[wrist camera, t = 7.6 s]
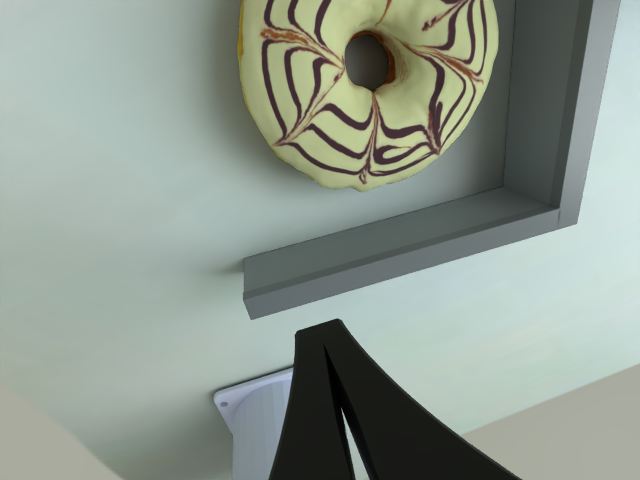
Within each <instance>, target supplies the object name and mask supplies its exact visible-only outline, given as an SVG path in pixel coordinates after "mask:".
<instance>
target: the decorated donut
mask: <svg viewBox="0 0 640 480" xmlns="http://www.w3.org/2000/svg"><path fill="white" fill-rule="evenodd" d="M365 34H370V35H373V36H374V37H375V38H376V39H378V41H379V43H381V44H382V45H383V47H384V49H385V50H386V52H387V53H388V56H389V60H388V61H389V62H390V63H389V64H388V65H389V67H390V68H389V72H388V75H387V77H386V81H385V82H384V83H383V84H382V86H381V87H378V88H376V89H374V90H373V92H371V91H370V90H368V89H366V88H364V87H361V86H357V85H354V84H353V83H352V82H351V81H350V79H349V77H348V75H347V72H346V67H345V55H344V54H345V49H346V46H347V44H348V42H349V41H353V39H354V37H355V38H356V37H357V36H361V35H365ZM498 35H499V31H498V24H497V16H496V10H495V8H494V4H493V0H242V4H241V7H240V17H239V35H238V45H237V52H238V60H239V72H240V81H241V85H242V92H243V96H244V100H245V104H246V107H247V109H248V111H249V113H250V115H251V116H252V118H253V119H254V121H255V122H256V124H257V126H258V128H259V130H260V132H261V133H262V135H263V136H264V138H265V140H266V142H267V143H268V144H269V146H270V147H271V149H272V150H273V151H274V152H275V154H276V155H277V156H278V157H279V158H280V159H282V160H283V161H284V162H287V163H289V164H291V165H292V166H293V167H294V168H295V169H297V170H298V171H301V172H303V173H305V174H306V175H307V176H308V177H309V178H310V179H312V180H315V181H316V182H317V183H318V184H319V185H320V186H322V187H326V188H330V189H341V188H345V187H352V188H354V189H356V190H358V191H360V192H364V191H367V190H370V189H373V188H376V187H379V186H381V185H383V184H392V183H394V182H398V181H400V180H403V179H405V178H408V177H410V176H413V175H415V174H417V173H418V172H420V171H421V170H423V169H424V168H425V167H426V166H428V165H429V164H430V163H432V162H433V161H434V160H435V159H437V158H438V157H439V156H441V155H442V154H443V153H444V151H445V150H446V149H447V148H448V147H449V146H450V145H451V144H452V143H453V142H454V141H455V140H456V139H457V138H458V137H459V136H460V134H461V133H462V131H463V130H464V129H465V127H466V126H467V124H468V123H469V121H470V119H471V117H472V115H473V113H474V112H475V110H476V108H477V106H478V104H479V103H480V101H481V99H482V97H483V94H484V92H485V90H486V88H487V85H488V82H489V79H490V76H491V73H492V67H493V63H494V60H495V57H496V54H497V51H498Z"/></svg>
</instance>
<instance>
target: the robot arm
mask: <svg viewBox="0 0 640 480" xmlns="http://www.w3.org/2000/svg"><path fill="white" fill-rule="evenodd" d="M214 403H215V404H216V406H217V408H218V410H219V412H220V414H221V415H222V417H223V419H224V421H225V423H226V424H227V426H228V428H229V430H230V432H231V434H232V435H233V463H232V480H356V479H355V474H354V469H353V464H352V459H351V454H350V449H349V444H348V436H347V433H346V429H345V424H344V419H343V414H342V410H343V413H344V415H345V418H346V421H347V423H348V426H349V428H350V431H351V433H352V436H353V438H354V441H355V443H356V446H357V448H358V451H359V454H360V456H361V459H362V461H363V464H364V466H365V469H366V471H367V474H368V476H369V479H370V480H522V479H520V478H519V477H517V476H515V475H514V474H513V473H511V472H510V471H508V470H507V469H506V468H504V467H503V466H501V465H500V464H498V463H497V462H495V461H494V460H493V459H491V458H490V457H488V456H487V455H485V454H484V453H483V452H481V451H480V450H478V449H477V448H475V447H474V446H473V445H471V444H470V443H468V442H467V441H466V440H464V439H463V438H462V437H460V436H459V435H458V434H456V433H455V432H454V431H452V430H451V429H450V428H449V427H447V426H446V425H445V424H443V423H442V422H441V421H440V420H438V419H437V418H436V417H435V416H433V415H432V414H431V413H430V412H428V411H427V410H426V409H425V408H424V407H423V406H421V405H420V404H419V403H418V402H417V401H416V400H414V399H413V398H412V397H411V396H410V395H409V394H408V393H407V392H405V391H404V390H403V389H402V388H401V387H400V386H399V385H398V384H397V383H396V382H395V381H394V380H393V379H392V378H391V377H390V376H389V375H387V374H386V373H385V372H384V371H383V369H382V368H381V367H380V366H379V365H378V364H377V363H376V362H375V361H374V360H373V359H372V358H371V357H370V356H369V355H368V354H367V353H366V351H365V350H364V349H363V348H362V347H361V346H360V344H359V343H358V342H357V341H356V340H355V338H354V337H353V336H352V335H351V333H350V332H349V331H348V329H347V328H346V326H345V325H344V323H343V322H342V320H340V319H338V318H337V319H334V320H331V321H328V322H324V323H321V324H318V325H315V326H311V327H308V328H305V329H302V330H299V331H297V332H296V334H295V356H294V366H293V368H290V369H287V370H284V371H280V372H277V373H274V374H271V375H268V376H264V377H261V378H258V379H255V380H252V381H248V382H245V383H242V384H239V385H236V386H232V387H229V388H226V389H223V390H220V391H217V392H216V393H215V394H214ZM341 408H342V410H341Z"/></svg>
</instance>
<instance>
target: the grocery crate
mask: <svg viewBox="0 0 640 480" xmlns="http://www.w3.org/2000/svg"><path fill="white" fill-rule="evenodd" d="M620 1H621V0H516V10H515V24H514V38H513V52H512V66H511V80H510V94H509V108H508V122H507V136H506V150H505V164H504V178H503V187H500V188H496V189H493V190H489V191H485V192H482V193H478V194H475V195H471V196H467V197H464V198H460V199H457V200H453V201H449V202H446V203H442V204H438V205H435V206H431V207H428V208H424V209H420V210H417V211H413V212H410V213H406V214H402V215H399V216H395V217H391V218H388V219H384V220H381V221H377V222H373V223H370V224H366V225H363V226H359V227H355V228H352V229H348V230H345V231H341V232H337V233H334V234H330V235H326V236H323V237H319V238H316V239H312V240H308V241H305V242H301V243H298V244H294V245H290V246H287V247H283V248H279V249H276V250H272V251H269V252H265V253H261V254H258V255H254V256H251V257H247V258H244V292H243V301H244V304H245V306H246V309H247V311H248V314H249V316H250V319H251V320H253V319H257V318H260V317H263V316H267V315H270V314H274V313H277V312H280V311H284V310H287V309H290V308H294V307H297V306H301V305H304V304H307V303H311V302H314V301H318V300H321V299H324V298H328V297H331V296H334V295H338V294H341V293H345V292H348V291H351V290H355V289H358V288H362V287H365V286H368V285H372V284H375V283H378V282H382V281H385V280H389V279H392V278H395V277H399V276H402V275H406V274H409V273H412V272H416V271H419V270H422V269H426V268H429V267H433V266H436V265H439V264H443V263H446V262H450V261H453V260H456V259H460V258H463V257H467V256H470V255H473V254H477V253H480V252H483V251H487V250H490V249H494V248H497V247H500V246H504V245H507V244H511V243H514V242H517V241H521V240H524V239H527V238H531V237H534V236H538V235H541V234H544V233H548V232H551V231H555V230H558V229H561V228H565V227H568V226H571V225H575V224H577V221H578V216H579V211H580V205H581V200H582V195H583V190H584V185H585V180H586V175H587V170H588V165H589V160H590V154H591V149H592V144H593V139H594V134H595V129H596V124H597V119H598V114H599V108H600V103H601V98H602V93H603V88H604V83H605V78H606V73H607V68H608V63H609V57H610V52H611V47H612V42H613V37H614V32H615V27H616V22H617V17H618V12H619V6H620Z"/></svg>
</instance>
